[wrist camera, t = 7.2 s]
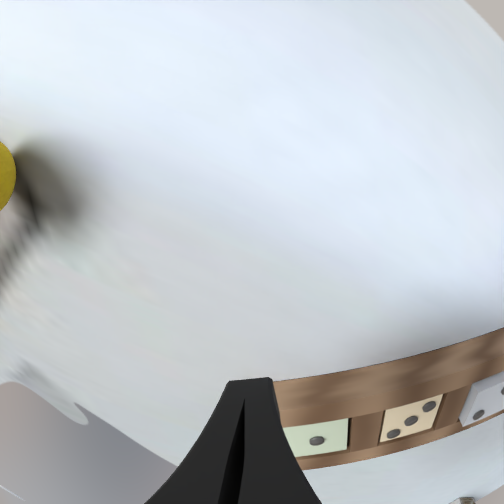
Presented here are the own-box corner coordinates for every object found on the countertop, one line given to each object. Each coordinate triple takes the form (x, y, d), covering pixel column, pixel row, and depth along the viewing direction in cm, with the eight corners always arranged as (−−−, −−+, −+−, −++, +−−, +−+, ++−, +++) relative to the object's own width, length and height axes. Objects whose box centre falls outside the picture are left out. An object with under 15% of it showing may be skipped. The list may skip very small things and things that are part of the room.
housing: (525, 319, 20) (542, 337, 17) (498, 391, 24) (509, 409, 21) (244, 384, 23) (242, 414, 20) (265, 448, 27) (264, 473, 24)
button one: (342, 392, 23) (348, 420, 21) (342, 425, 25) (346, 451, 22) (281, 401, 24) (282, 429, 21) (288, 433, 26) (289, 459, 23)
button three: (431, 371, 22) (444, 395, 20) (422, 406, 24) (431, 429, 22) (377, 384, 23) (386, 411, 20) (373, 419, 25) (380, 444, 22)
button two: (506, 354, 20) (521, 374, 18) (492, 390, 22) (504, 410, 20) (465, 370, 21) (479, 393, 18) (452, 405, 23) (463, 428, 20)
